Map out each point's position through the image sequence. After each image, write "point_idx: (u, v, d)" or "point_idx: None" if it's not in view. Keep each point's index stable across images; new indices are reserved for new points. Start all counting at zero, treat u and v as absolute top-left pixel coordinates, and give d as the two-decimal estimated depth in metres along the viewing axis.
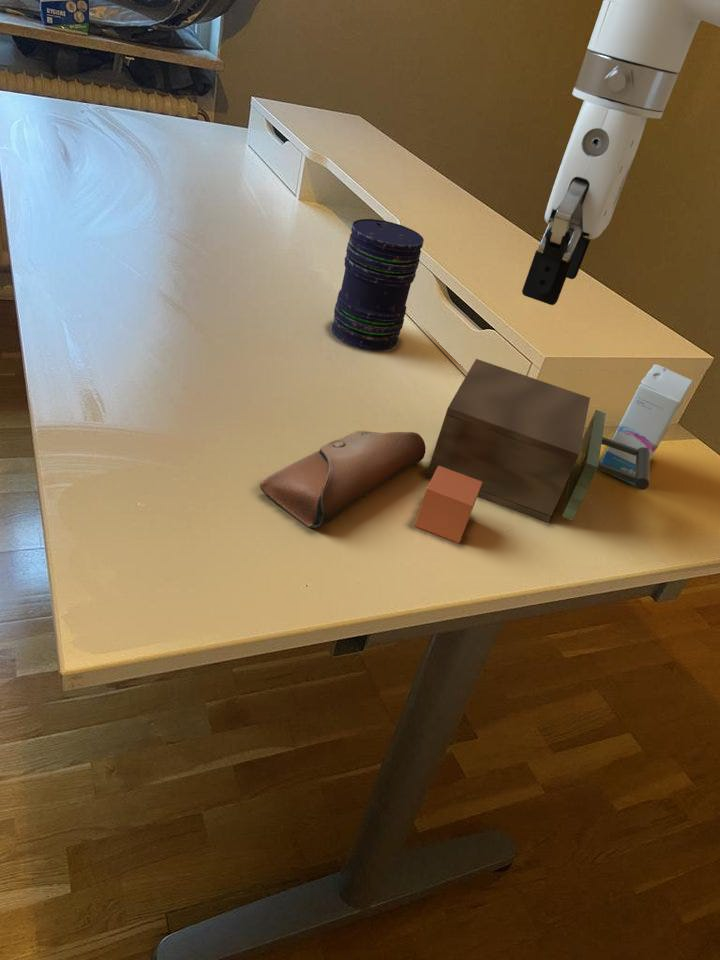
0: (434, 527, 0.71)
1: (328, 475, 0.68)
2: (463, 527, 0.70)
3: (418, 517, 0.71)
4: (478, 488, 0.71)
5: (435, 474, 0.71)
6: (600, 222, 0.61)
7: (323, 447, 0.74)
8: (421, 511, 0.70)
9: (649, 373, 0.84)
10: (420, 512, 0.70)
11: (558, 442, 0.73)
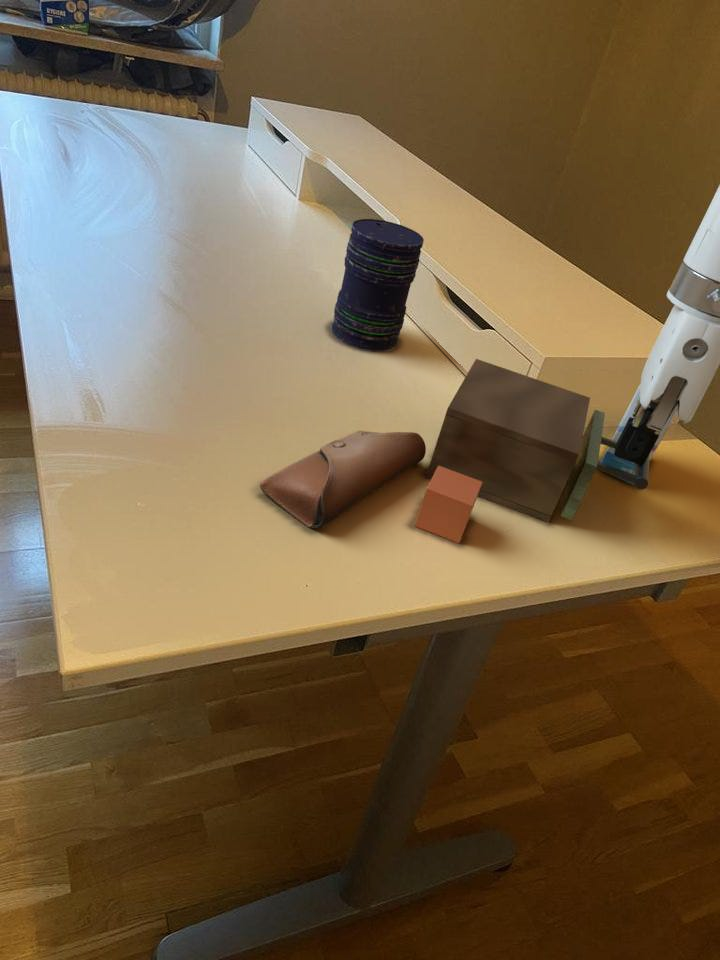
0: (434, 527, 0.71)
1: (328, 475, 0.68)
2: (463, 527, 0.70)
3: (418, 517, 0.71)
4: (478, 488, 0.71)
5: (435, 474, 0.71)
6: (694, 412, 0.69)
7: (323, 447, 0.74)
8: (421, 511, 0.70)
9: None
10: (420, 512, 0.70)
11: (558, 442, 0.73)
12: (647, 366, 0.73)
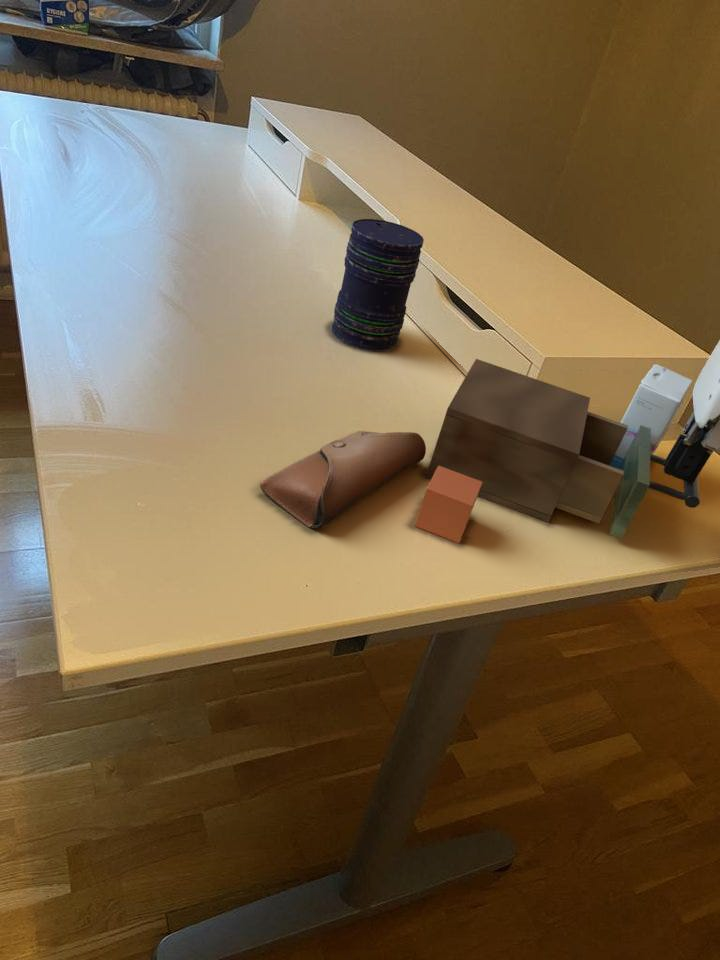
0: (434, 527, 0.71)
1: (328, 475, 0.68)
2: (463, 527, 0.70)
3: (418, 517, 0.71)
4: (478, 488, 0.71)
5: (435, 474, 0.71)
6: None
7: (323, 447, 0.74)
8: (421, 511, 0.70)
9: (649, 373, 0.84)
10: (420, 512, 0.70)
11: (558, 442, 0.73)
12: (701, 384, 0.72)
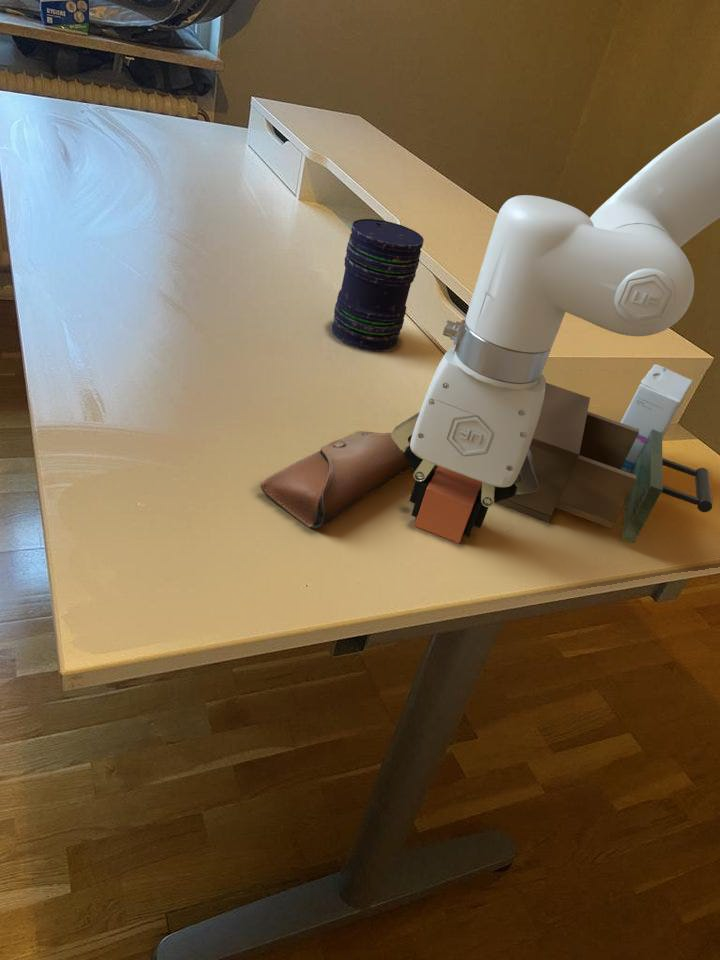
0: (434, 527, 0.71)
1: (329, 475, 0.68)
2: (463, 527, 0.70)
3: (418, 517, 0.71)
4: (478, 488, 0.71)
5: (435, 474, 0.71)
6: (414, 440, 0.66)
7: (324, 447, 0.74)
8: (422, 511, 0.70)
9: (649, 373, 0.84)
10: (420, 512, 0.70)
11: (558, 442, 0.73)
12: None
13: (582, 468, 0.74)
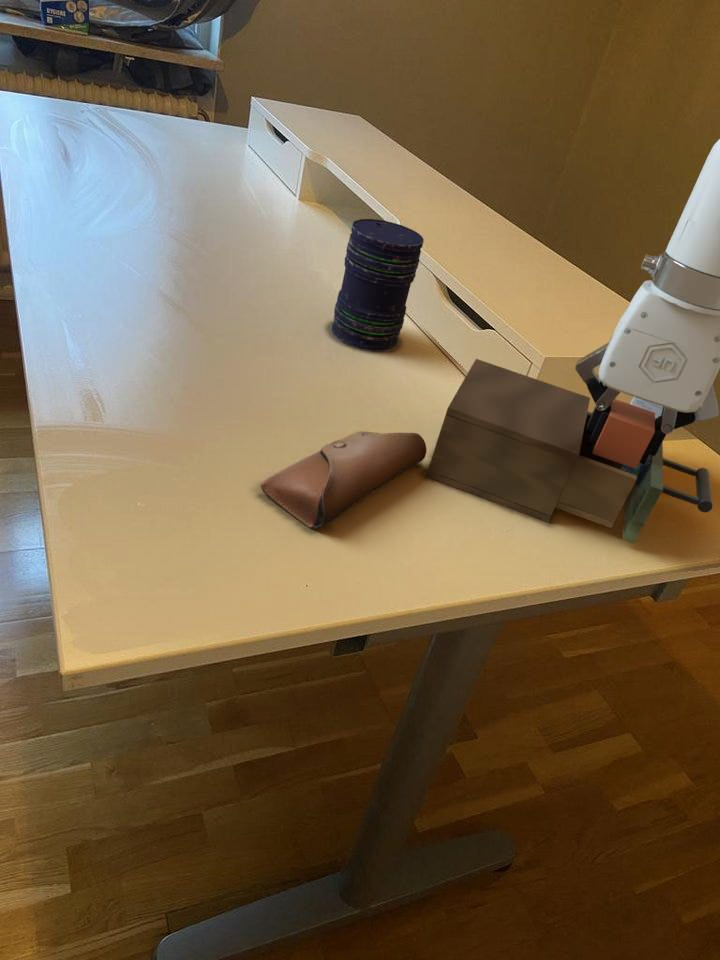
0: (612, 454, 0.76)
1: (329, 476, 0.68)
2: (642, 453, 0.75)
3: (597, 445, 0.76)
4: (653, 417, 0.76)
5: (612, 405, 0.76)
6: (605, 369, 0.71)
7: (324, 447, 0.74)
8: (602, 439, 0.75)
9: None
10: (600, 440, 0.75)
11: (558, 442, 0.73)
12: None
13: (582, 468, 0.74)
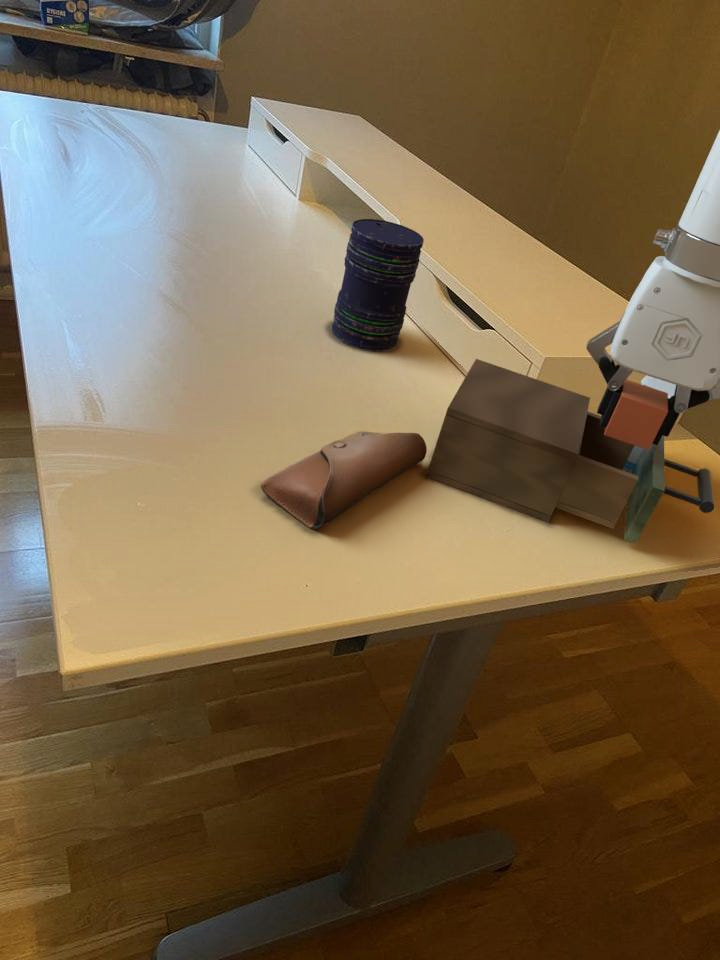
0: (625, 435, 0.74)
1: (329, 476, 0.68)
2: (655, 433, 0.73)
3: (609, 426, 0.74)
4: (666, 398, 0.74)
5: (624, 385, 0.75)
6: (617, 347, 0.70)
7: (324, 448, 0.74)
8: (614, 419, 0.74)
9: None
10: (612, 420, 0.74)
11: (558, 442, 0.73)
12: None
13: (584, 469, 0.74)
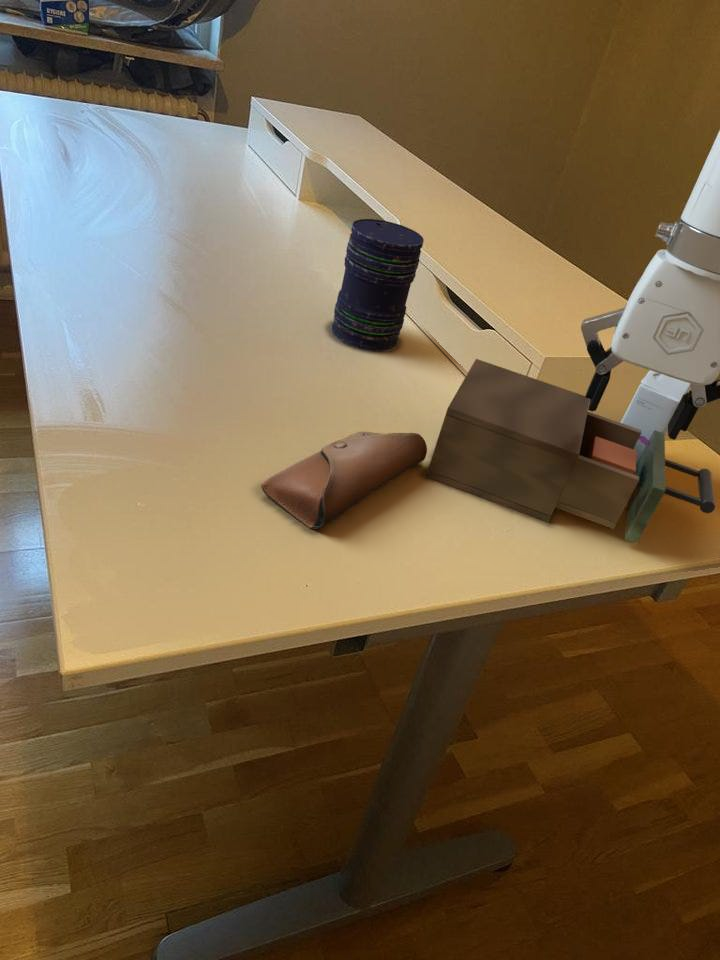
0: None
1: (329, 476, 0.68)
2: None
3: None
4: (635, 456, 0.78)
5: (595, 443, 0.79)
6: (618, 341, 0.70)
7: (324, 448, 0.74)
8: None
9: (649, 373, 0.84)
10: None
11: (558, 442, 0.73)
12: None
13: (585, 469, 0.74)
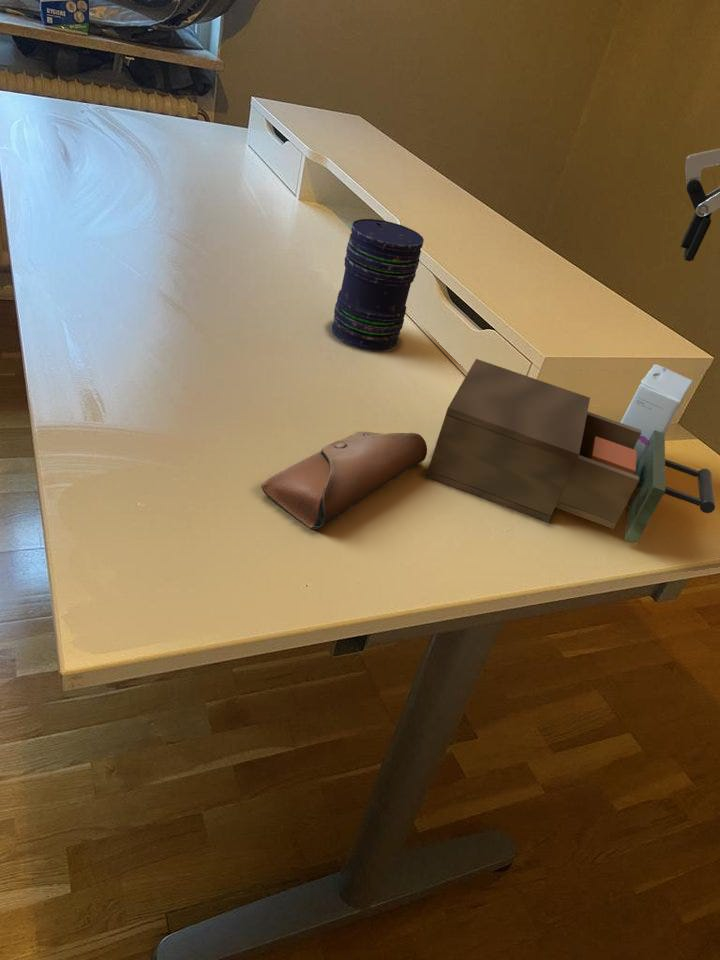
0: None
1: (330, 476, 0.68)
2: None
3: None
4: (635, 456, 0.78)
5: (595, 443, 0.79)
6: None
7: (325, 448, 0.74)
8: None
9: (649, 373, 0.84)
10: None
11: (558, 442, 0.73)
12: None
13: (585, 469, 0.74)
